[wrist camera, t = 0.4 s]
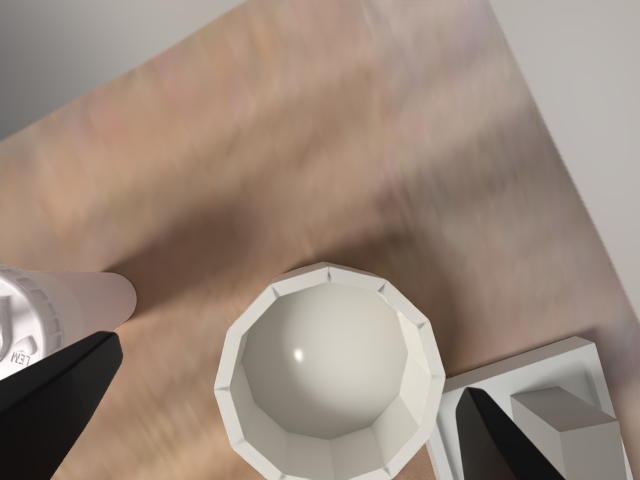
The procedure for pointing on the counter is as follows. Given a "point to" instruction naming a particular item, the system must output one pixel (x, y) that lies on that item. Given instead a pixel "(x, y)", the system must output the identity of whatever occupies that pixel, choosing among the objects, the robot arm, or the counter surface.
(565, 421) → the grey block
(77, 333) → the smoothie
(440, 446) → the tray
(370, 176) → the counter surface
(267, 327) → the bowl
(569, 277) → the counter surface
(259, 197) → the counter surface
